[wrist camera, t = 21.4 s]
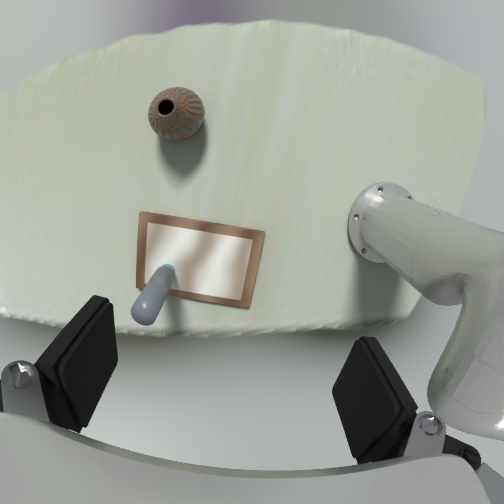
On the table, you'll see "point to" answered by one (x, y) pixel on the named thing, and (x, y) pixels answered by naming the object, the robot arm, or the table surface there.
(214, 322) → the table surface
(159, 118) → the vase
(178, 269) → the brown picture frame
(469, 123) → the table surface
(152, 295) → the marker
